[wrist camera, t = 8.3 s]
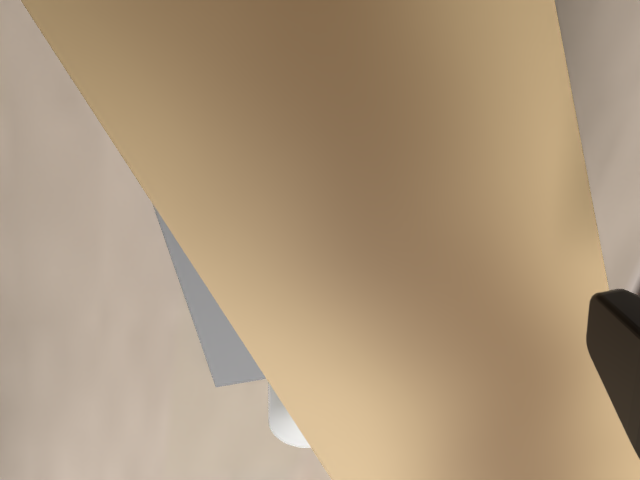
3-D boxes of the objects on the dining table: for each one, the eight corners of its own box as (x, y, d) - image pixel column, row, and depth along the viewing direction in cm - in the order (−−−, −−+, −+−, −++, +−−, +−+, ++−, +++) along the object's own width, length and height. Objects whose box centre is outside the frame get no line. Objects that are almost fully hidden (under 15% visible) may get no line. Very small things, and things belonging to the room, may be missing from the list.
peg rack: (521, 316, 24) (592, 440, 19) (217, 368, 24) (205, 505, 19) (552, -712, 11) (803, -1207, 6) (-102, -585, 11) (-408, -957, 6)
